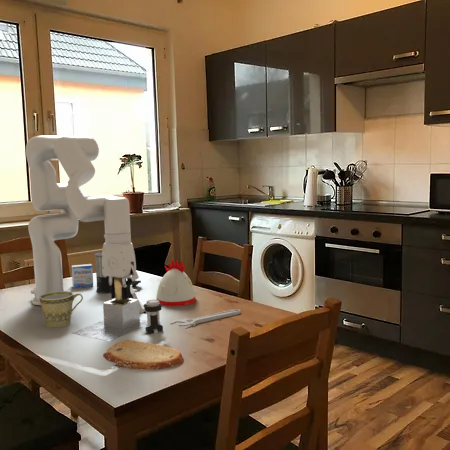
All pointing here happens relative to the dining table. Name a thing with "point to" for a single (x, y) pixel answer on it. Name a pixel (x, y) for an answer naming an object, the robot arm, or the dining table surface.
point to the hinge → (141, 307)
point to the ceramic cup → (58, 307)
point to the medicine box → (82, 275)
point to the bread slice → (143, 355)
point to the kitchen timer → (175, 287)
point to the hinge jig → (115, 321)
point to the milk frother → (101, 280)
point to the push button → (153, 317)
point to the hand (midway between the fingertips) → (121, 297)
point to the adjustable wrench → (206, 318)
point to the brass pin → (118, 290)
